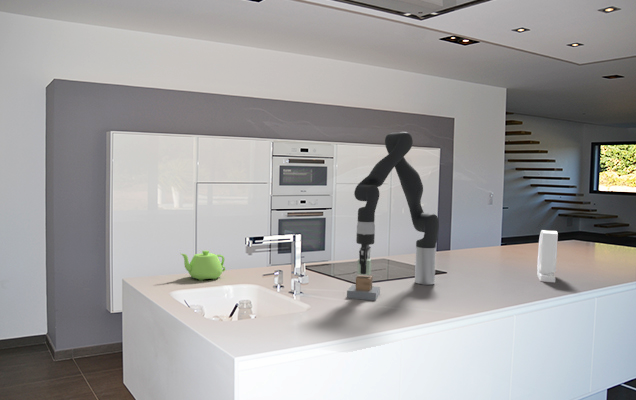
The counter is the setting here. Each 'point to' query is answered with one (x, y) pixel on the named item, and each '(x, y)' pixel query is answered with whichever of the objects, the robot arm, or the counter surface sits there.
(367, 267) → the sage block
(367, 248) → the robot arm
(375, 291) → the slate trivet
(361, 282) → the walnut block
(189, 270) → the teapot
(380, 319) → the counter surface
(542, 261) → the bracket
